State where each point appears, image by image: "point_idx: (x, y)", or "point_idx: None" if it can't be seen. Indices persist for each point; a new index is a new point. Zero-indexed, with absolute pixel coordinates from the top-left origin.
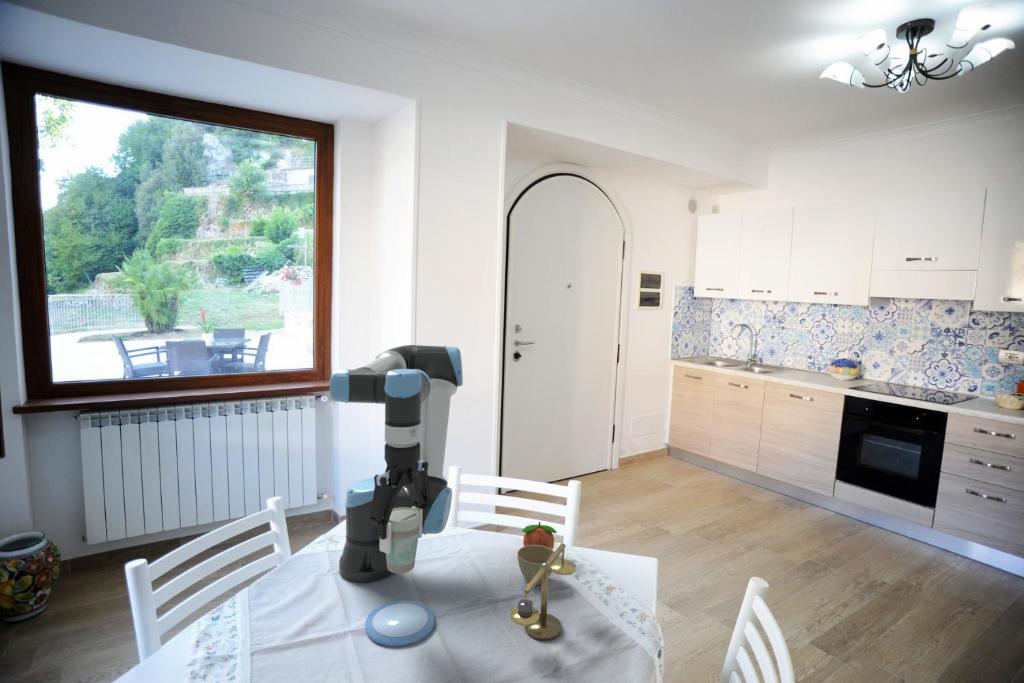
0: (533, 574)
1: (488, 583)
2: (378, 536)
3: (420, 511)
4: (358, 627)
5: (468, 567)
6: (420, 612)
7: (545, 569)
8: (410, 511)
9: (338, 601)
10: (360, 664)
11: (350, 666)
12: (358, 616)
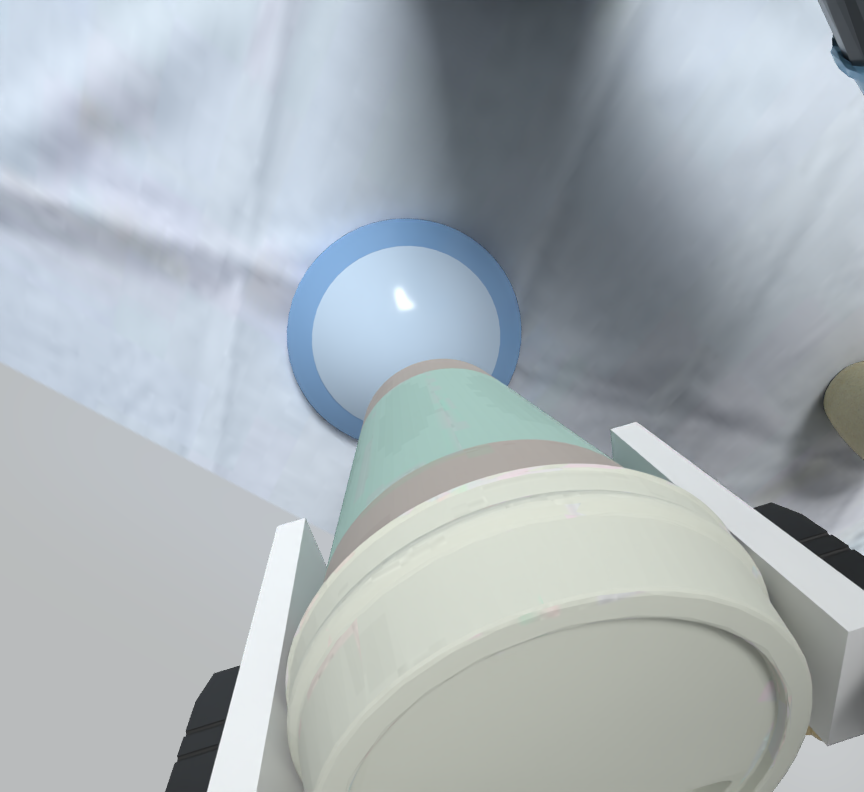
0: (851, 445)
1: (757, 317)
2: (204, 702)
3: (817, 721)
4: (279, 267)
5: (805, 177)
6: (481, 351)
7: (808, 733)
8: (731, 724)
9: (266, 25)
10: (222, 436)
11: (192, 428)
12: (303, 202)
